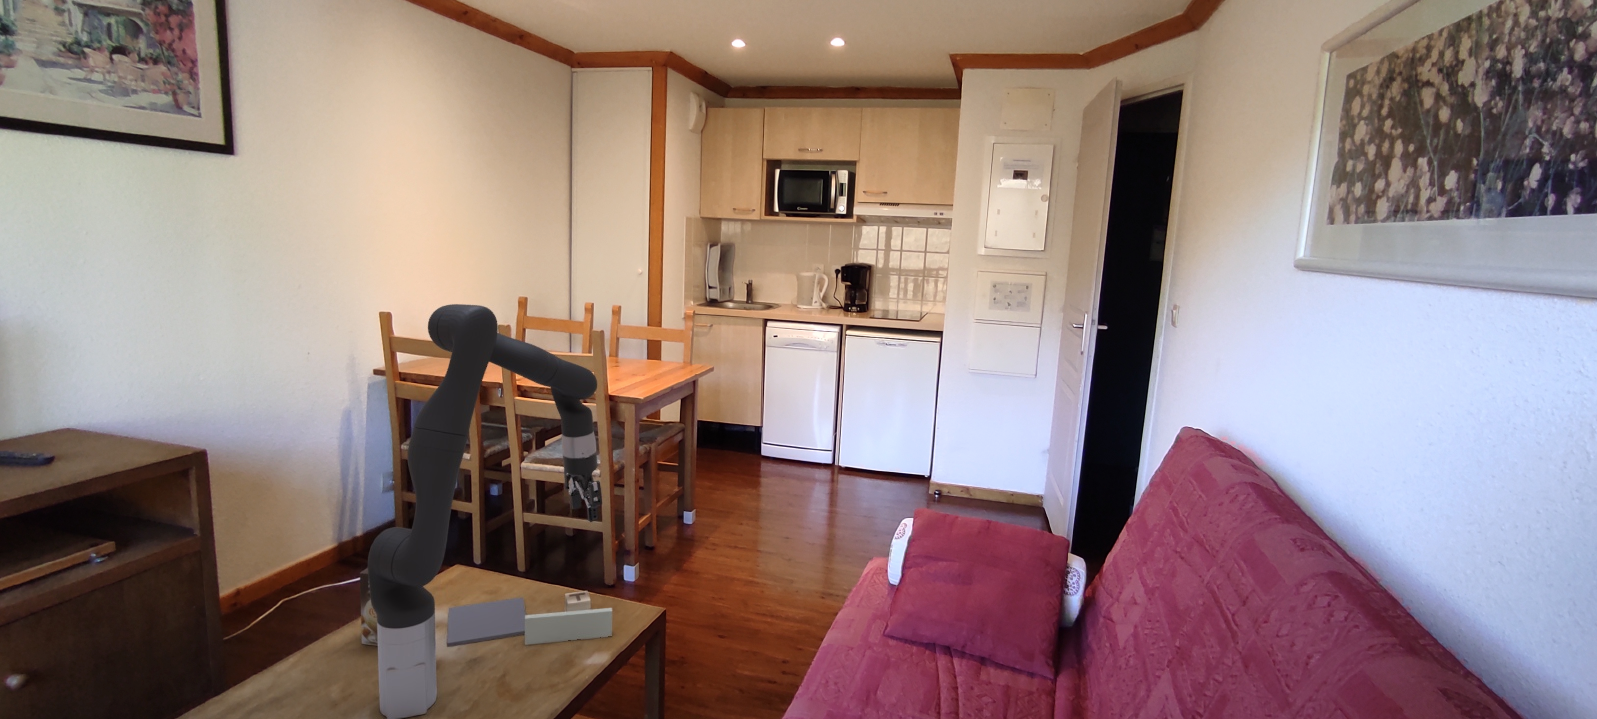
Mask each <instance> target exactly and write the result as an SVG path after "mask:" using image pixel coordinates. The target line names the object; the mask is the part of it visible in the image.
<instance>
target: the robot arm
mask: <svg viewBox="0 0 1597 719" xmlns="http://www.w3.org/2000/svg"><path fill="white" fill-rule="evenodd" d="M427 332H428V335H429V337H430V339H431V341H432V342H433V343H434V344H435V346H437V347H438V348H440V349H442V350H444V351H446V352H450V353H451V355H450V359H449V363H448V366H447V369H446V372H445V375H444V378H442V381H441V383H440V384H439V385H438V386H437V388H436V390H435V391H434V392H433V393H432V394H431V395H430V397H429V398H428V400H427V401H426V402H425V403H424V405H423V406H422V407H421V409H420V411H419V412H418V414H417V416H416V418H415V421H414V423H413V428H412V431H411V435H410V438H409V439H410V440H409V443H408V448H407V452H406V453H407V454H406V456H407V465H408V470H409V474H410V477H411V478H410V479H411V482H412V486H413V490H414V494H415V513H414V518H413V521H412V522H413V523H412V528H407V527H401V526H393V527H389V528H386V529H384V530H383V531H381V532H380V533H379V534H378V535H377V536H376V537H375V539H374V540H373V542H372V544H371V545H370V549H369V552H368V556H367V567H368V577H369V587H370V598H371V604H372V607H373V609H374V611H375V612H376V615H377V633H378V646H377V662H378V663H377V664H378V667H377V668H378V689H379V692H378V697H379V710H380V713H381V715H383V716H385V717H386V719H404V718H409V717H415V716H420V715H424V714H427V711H428V709H429V708H431V707H432V706H433V705H434V704H435V703H436V701H437V695H438V694H437V691H438V690H437V689H438V688H437V658H436V657H437V655H436V654H437V652H436V649H437V648H436V645H437V644H436V604H435V601H436V600H435V598H434V595H433V594H432V593H431V592H430V591H429V590H428V589H427V588H425V587H424V586H426V585H428V584H430V583H431V581H432V582H433V580H434V579H435V577H436V576H437V575H438V573H439V571H440V570H441V567H442V565H443V562H444V558H445V554H446V548H447V542H448V534H449V527H450V519H451V513H452V507H453V501H454V496H455V491H456V486H457V481H458V476H459V474H460V469H461V464H462V461H463V458H464V455H465V450H466V446H467V443H468V437H469V433H470V427H471V424H472V419H473V416H474V411H475V408H476V404H477V400H478V396H479V393H480V388H481V386H482V382H483V379H484V377H485V374H486V372H487V371H486V370H487V367H488V365H489V363H492V364H494V365H496V366H498V367H501V368H502V369H505V370H507V371H510V372H511V373H514V374H516V375H519V376H521V377H523V378H524V379H527V380H529V381H531V382H534V383H535V384H538V385H541V386H544V387H548V388H550V392H551V396H552V398H553V401H554V404H555V407H556V409H557V412H558V414H559V417H560V427H561V452H562V461H563V474H564V488H565V490H566V491H568V495H570V505H571V509H572V510H578V509H581V508H582V500H584V502H585V504H586V511H587V512H586V514H587V520H588V522H590V523H592V522H596V521H598V519H599V512H598V507H599V506H602V505H603V498H602V489H601V482H600V480H595V479H594V477H593V473H594V472H595V471H596V470H597V469H598V465H599V464H598V456H597V442H596V435H595V432H594V431H595V430H594V421H593V412H592V410H591V408H590V407H589V406H587V405H585V404H584V403H583V402H582V401H583V400H587V399H589V398H591V397H592V396H594V395H595V393H596V391H597V389H598V380H597V377H596V375H595V374H594V373H593V372H592V370H590V369H589V368H586V367H584V366H582V365H580V364H576V363H573V362H570V361H568V360H565V359H562V358H560V357H558V356H557V355H555V354H553V353H552V352H549V351H547V350H546V349H543V348H542V347H540V346H537V345H535V344H532V343H529V342H526V341H522V340H520V339H516V338H514V337H510V336H507V335H504V334H501V333H499V326H498V320H497V317H496V315H495V313H494V312H493V310H491V309H490V308H488V307H486V306H484V305H478V304H463V303H462V304H460V303H459V304H458V303H454V304H453V303H451V304H446V305H442V306H440V307H438V308H437V309H435V310H434V311H433V312H432V313H431V315H430V316H429V319H428V323H427ZM581 400H582V401H581Z"/></svg>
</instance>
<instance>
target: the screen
mask: <svg viewBox="0 0 1597 719" xmlns="http://www.w3.org/2000/svg"><path fill="white" fill-rule="evenodd" d="M608 636H613V607H605V608H595V609H594V608H593V609H591V610H580V611H569V612H565V611H559V612H558V611H557V612H549V613H547V612H546V613H536V614H526V615H525V634H524V645H525V646H527V645H536V644H537V645H538V644H548V643H560V642H568V640H571V641H578V640H577V639H581V640H589V639H591V640H592V639H601V638H609V637H608ZM600 637H601V638H600Z"/></svg>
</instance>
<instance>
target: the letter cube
mask: <svg viewBox="0 0 1597 719" xmlns="http://www.w3.org/2000/svg"><path fill="white" fill-rule="evenodd" d="M591 600H592V599H591V597H590V594H589V592H588V590H584V591H583V590H582V591H581V590H580V591H575V592H568V593H564V612H569V611H580V610H592V609H591V608H592V607H591V606H592V605H591V603H592V601H591Z"/></svg>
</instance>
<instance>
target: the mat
mask: <svg viewBox="0 0 1597 719" xmlns="http://www.w3.org/2000/svg"><path fill="white" fill-rule="evenodd" d="M524 600H525V599H524V597H514V598H508V599H501V600H494V601H487V602H478V603H472V604H465V605H464V604H463V605H459V606H458V605H457V606H452V607H451V606H449V607H448V619H447V636H446V637H447V642H446V643H447V644H446V646H447V648H448V647H454V646H461V645H467V644H473V643H478V642H479V643H480V642H484V641H485V642H486V641H490V640H491V641H492V640H497V639H503V638H504V639H505V638H510V637H515V636H522V635H523V636H524V635H525V615H527V614H526V607H525V601H524Z"/></svg>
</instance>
